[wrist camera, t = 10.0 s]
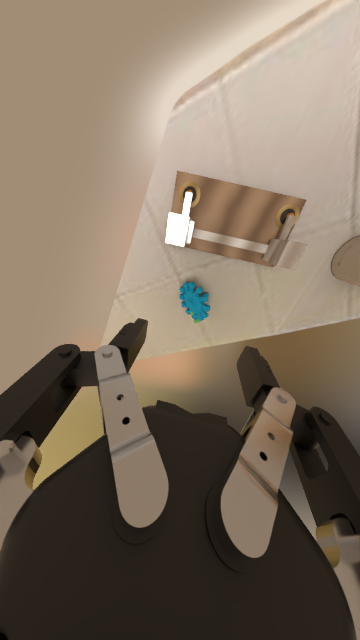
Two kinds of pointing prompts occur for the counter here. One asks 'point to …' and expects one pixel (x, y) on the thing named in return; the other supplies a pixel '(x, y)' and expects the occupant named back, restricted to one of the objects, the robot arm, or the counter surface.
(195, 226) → the plate
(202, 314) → the blue branching piece
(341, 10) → the counter surface
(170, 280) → the counter surface
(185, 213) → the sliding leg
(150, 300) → the counter surface
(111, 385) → the robot arm
